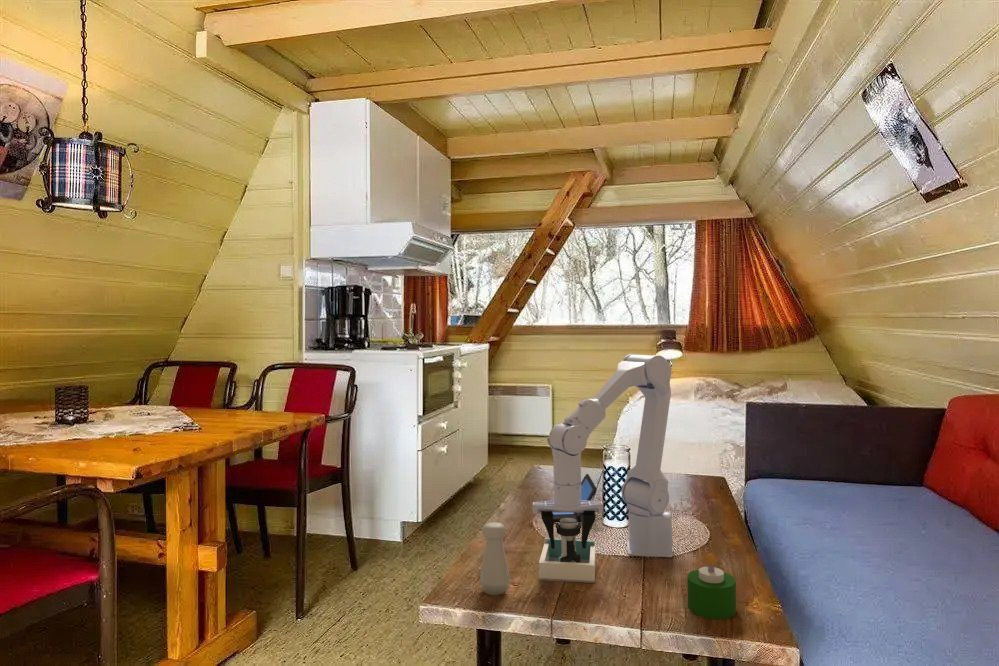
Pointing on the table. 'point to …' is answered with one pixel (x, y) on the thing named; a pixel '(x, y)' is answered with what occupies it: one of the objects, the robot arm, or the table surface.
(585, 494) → the handheld game console
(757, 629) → the table surface
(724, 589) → the candle
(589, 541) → the gate
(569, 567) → the bay
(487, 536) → the salt shaker
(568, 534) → the push button
